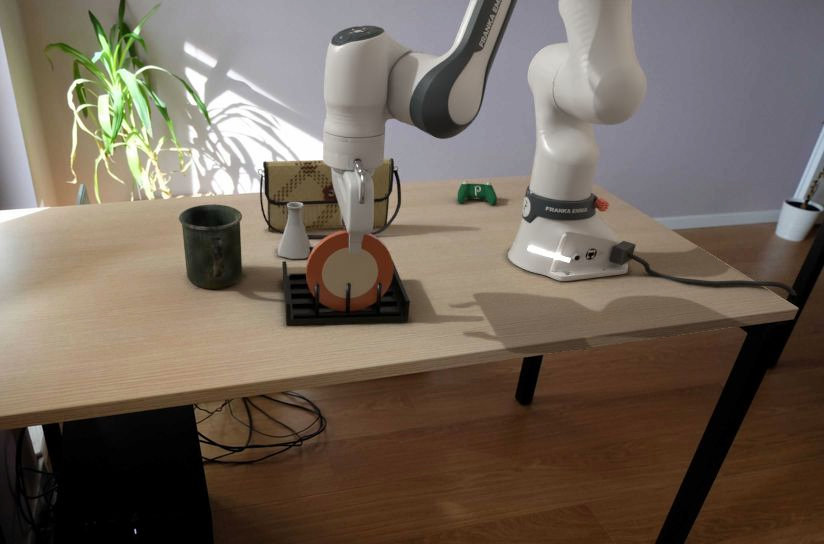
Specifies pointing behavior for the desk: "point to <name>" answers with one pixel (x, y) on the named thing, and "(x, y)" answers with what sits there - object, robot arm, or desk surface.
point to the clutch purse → (319, 194)
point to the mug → (212, 245)
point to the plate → (349, 271)
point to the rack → (311, 312)
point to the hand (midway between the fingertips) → (350, 238)
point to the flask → (294, 234)
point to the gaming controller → (477, 192)
